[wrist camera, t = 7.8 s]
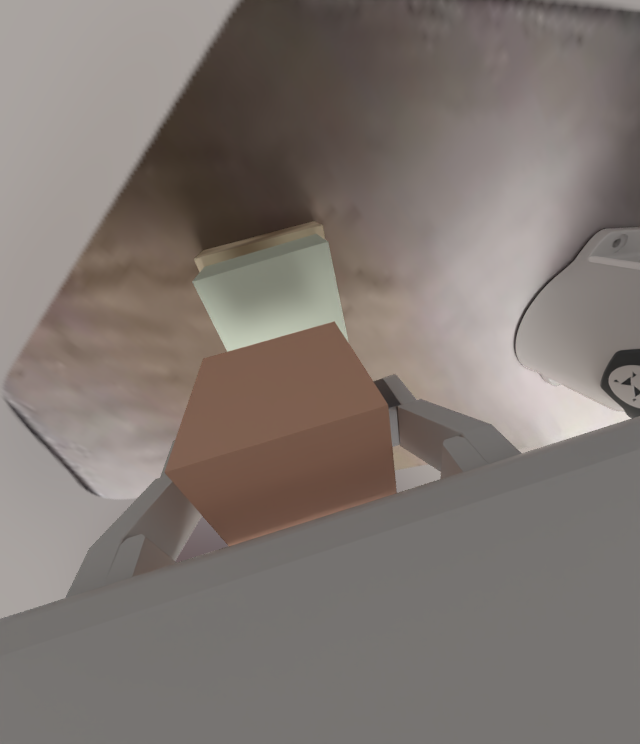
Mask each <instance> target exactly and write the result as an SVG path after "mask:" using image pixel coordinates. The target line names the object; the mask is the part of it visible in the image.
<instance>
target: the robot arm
mask: <svg viewBox="0 0 640 744" xmlns="http://www.w3.org/2000/svg"><path fill="white" fill-rule="evenodd" d="M516 354H517V357H518V360H519V361H520V363H521V364H522V365H523V366H524V367H525V368H527V369H529V370H532V371H535V372H537V373H540V374H541V376H542V378H543V379H544V381H545V382H547V383H549V384H551V385H553V386H559V385H563V386H565V387H567V388H569V389H571V390H573V391H575V392H577V393H579V394H581V395H583V396H585V397H587V398H589V399H591V400H593V401H595V402H597V403H599V404H601V405H603V406H605V407H607V408H609V409H612V410H614V411H618V412H623V411H625V412H626V414H627V415H628V416H629V417H631V418H632V419H629V420H626V421H623V422H620V423H617V424H613V425H610V426H607V427H604V428H601V429H598V430H595V431H591V432H588V433H585V434H582V435H579V436H576V437H572V438H569V439H566V440H563V441H560V442H557V443H553V444H550V445H547V446H544V447H541V448H538V449H535V450H531V451H528V452H525V453H521V452H520V451H519V450H517V449H516V448H515V447H514V446H513V445H512V444H511V443H510V442H509V441H508V440H507V439H506V438H505V437H504V436H503V435H502V434H501V433H500V432H499V431H498V430H497V429H496V428H495V427H493V426H492V425H491V424H489V423H486V422H483V421H480V420H478V419H475V418H472V417H469V416H466V415H464V414H461V413H458V412H455V411H453V410H450V409H447V408H444V407H441V406H439V405H436V404H433V403H430V402H428V401H425V400H422V399H420V400H416V398H415V397H414V396H413V395H412V393H411V392H410V391H409V390H408V389H407V387H406V386H405V385H404V384H403V382H402V381H401V380H400V379H399V377H398V376H397V375H395V374H393V375H390V376H387V377H384V378H382V379H379V380H376V381H373V382H374V384H375V385H376V387H377V388H378V390H379V391H380V393H381V394H382V396H383V398H384V399H385V401H386V402H387V404H388V408H389V418H390V429H391V439H392V447H393V446H397V445H400V446H402V447H403V448H405V449H406V450H408V451H409V452H411V453H412V454H414V455H415V456H417V457H419V458H420V459H422V460H423V461H425V462H426V463H428V464H429V465H431V466H433V467H434V468H436V469H437V470H439V471H441V479H440V480H437V481H434V482H430V483H427V484H424V485H421V486H418V487H415V488H412V489H408V490H405V491H402V492H399V493H396V494H393V495H389V496H386V497H383V498H380V499H377V500H374V501H371V502H367V503H364V504H361V505H358V506H355V507H352V508H349V509H345V510H342V511H339V512H336V513H333V514H330V515H327V516H323V517H320V518H317V519H314V520H311V521H308V522H304V523H301V524H298V525H295V526H292V527H289V528H285V529H282V530H279V531H276V532H273V533H270V534H266V535H263V536H260V537H257V538H254V539H251V540H248V541H244V542H241V543H238V544H235V545H232V546H229V547H225V548H222V549H219V550H216V551H213V552H210V553H206V554H203V555H200V556H197V557H194V558H191V559H188V560H185V561H181V562H178V563H177V562H175V560H176V559H177V557H178V556H179V554H180V552H181V551H182V549H183V547H184V545H185V544H186V542H187V540H188V539H189V537H190V535H191V534H192V532H193V530H194V529H195V526H196V525H197V523H198V522H199V520H200V518H201V517H202V515H201V514H200V513H199V511H198V510H197V509H196V508H195V507H194V506H193V505H192V503H191V502H190V501H189V500H188V499H187V498H186V497H185V495H184V494H183V493H182V492H181V491H180V490H179V489H178V487H177V486H176V485H175V484H174V483H173V482H172V480H171V479H170V478H169V477H168V476H167V475H166V474H165V469H166V466H167V463H168V460H169V457H170V454H171V452H172V449H173V446H174V443H175V440H174V441H173V443H172V446H171V449H170V451H169V454H168V457H167V460H166V463H165V465H164V468H163V471H162V474H161V477H160V478H158V479H155V480H154V481H153V482H152V484H151V485H150V486H149V487H148V488H147V489H146V490H145V491H144V492H143V493H142V494H141V495H140V496H139V497H138V498H137V499H136V500H135V501H134V502H133V504H131V506H130V507H129V508H128V509H127V510H126V511H125V512H124V513H123V514H122V515H121V516H120V517H119V518H118V519H117V520H116V521H115V522H114V523H113V524H112V525H111V526H110V527H109V529H108V530H107V531H106V532H105V533H104V534H103V535H102V536H101V537H100V538H99V539H98V540H97V541H96V542H95V543H94V544H93V545H92V546H91V547H90V548H89V550H88V552H87V554H86V556H85V558H84V561H83V563H82V565H81V567H80V569H79V571H78V573H77V575H76V577H75V580H74V581H73V583H72V586H71V587H70V589H69V592H68V594H67V596H66V598H65V599H61V600H58V601H55V602H52V603H49V604H46V605H43V606H39V607H36V608H33V609H30V610H27V611H24V612H20V613H17V614H14V615H11V616H8V617H5V618H2V619H0V744H640V227H630V228H609V229H603V230H601V231H599V232H597V233H596V234H595V235H594V236H593V237H592V238H591V239H590V240H589V242H588V243H587V244H586V245H585V247H584V248H583V249H582V250H581V252H580V253H579V254H578V256H577V257H576V259H575V260H574V261H573V262H572V263H571V264H570V265H569V266H568V267H567V268H565V269H564V270H563V271H562V272H561V273H559V274H558V275H557V276H556V277H555V278H554V279H553V280H552V281H550V282H549V283H548V284H547V285H546V287H545V288H544V289H543V290H542V291H541V292H540V293H539V294H538V296H537V297H536V298H535V300H534V301H533V302H532V304H531V305H530V307H529V308H528V310H527V312H526V313H525V315H524V317H523V319H522V322H521V324H520V326H519V329H518V333H517V337H516Z"/></svg>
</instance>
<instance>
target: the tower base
mask: <svg viewBox="0 0 640 744" xmlns="http://www.w3.org/2000/svg"><path fill="white" fill-rule="evenodd" d="M313 234H317V235H319V236H320V237H322V238H323V239H325V235H324V230H323V225H322V224H319V223H317V222H315V221H313V222H309V223H305V224H301V225H297V226H294V227H290V228H286V229H282V230H278V231H275V232H271V233H267V234H263V235H259V236H256V237H252V238H248V239H244V240H241V241H237V242H233V243H229V244H225V245H222V246H218V247H214V248H210V249H206V250H203V251H202V252H201V253H200V254H199V255H198V256H196V257H195V258H194V261H195V263H196V265H197V267H198V270H199V272H201V270H202V269H203V268H204V267H206V266H209V265H212V264H216V263H219V262H222V261H226V260H229V259H233V258H236V257H239V256H243V255H246V254H249V253H253V252H256V251H259V250H263V249H266V248H270V247H273V246H276V245H280V244H283V243H286V242H290V241H293V240H297V239H300V238H303V237H307V236H310V235H313Z"/></svg>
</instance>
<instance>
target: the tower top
mask: <svg viewBox="0 0 640 744" xmlns="http://www.w3.org/2000/svg"><path fill="white" fill-rule="evenodd" d="M193 284H194V286H195V288H196V290H197V292H198V294H199V296H200V298H201V300H202V302H203V304H204V306H205V308H206V310H207V312H208V314H209V316H210V318H211V320H212V322H213V324H214V326H215V328H216V330H217V332H218V334H219V336H220V338H221V340H222V342H223V344H224V346H225V348H226V350H227V352H228V351H232V350H235V349H239V348H242V347H246V346H249V345H253V344H257V343H260V342H264V341H267V340H271V339H274V338H278V337H281V336H285V335H288V334H292V333H295V332H299V331H302V330H306V329H309V328H313V327H316V326H320V325H323V324H327V323H330V322H334V321H335V323H336V324H337V326H338V327H339V329H340V331H341V332H342V334H343V335H344V337H345V338H346V340H347V341H348V337H347V332H346V327H345V322H344V318H343V313H342V308H341V303H340V298H339V293H338V288H337V283H336V278H335V273H334V268H333V263H332V258H331V254H330V249H329V244H328V241H327V240H325V239H323V238H322V237H320V236H319V235H317V234H313V235H310V236H307V237H303V238H300V239H297V240H293V241H290V242H286V243H283V244H280V245H276V246H273V247H270V248H266V249H263V250H259V251H256V252H253V253H249V254H246V255H243V256H239V257H236V258H233V259H229V260H226V261H222V262H219V263H216V264H212V265H209V266H206V267H204V268H203V269H202V270H201V272H200V273H199V274H198V275H197V277H196V278H195V279H194V280H193ZM348 343H349V342H348Z"/></svg>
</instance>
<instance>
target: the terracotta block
mask: <svg viewBox="0 0 640 744" xmlns="http://www.w3.org/2000/svg"><path fill="white" fill-rule="evenodd" d="M165 474H166V475H167V476H168V477H169V478H170V479H171V480H172V482H173V483H174V484H175V485H176V486H177V487H178V489H179V490H180V491H181V492H182V493H183V494H184V495H185V497H186V498H187V499H188V500H189V501H190V502H191V503H192V505H193V506H194V507H195V508H196V509H197V510H198V511H199V513H200V514H201V515H202V516H203V517H204V518H205V519H206V520H207V522H208V523H209V524H210V525H211V526H212V527H213V528H214V530H215V531H216V532H217V533H218V534H219V535H220V537H221V538H222V539H223V540H224V541H225V542H226V544H227V545H228V546H232V545H235V544H238V543H241V542H244V541H248V540H251V539H254V538H257V537H260V536H263V535H266V534H270V533H273V532H276V531H279V530H282V529H285V528H289V527H292V526H295V525H298V524H301V523H304V522H308V521H311V520H314V519H317V518H320V517H323V516H327V515H330V514H333V513H336V512H339V511H342V510H345V509H349V508H352V507H355V506H358V505H361V504H364V503H367V502H371V501H374V500H377V499H380V498H383V497H386V496H389V495H393V494H396V493H397V492H396V481H395V471H394V460H393V450H392V439H391V429H390V418H389V408H388V404H387V402H386V401H385V399H384V398H383V396H382V394H381V393H380V391H379V390H378V388H377V387H376V385H375V384H374V382H373V380H372V379H371V377H370V376H369V374H368V373H367V371H366V370H365V368H364V366H363V365H362V363H361V362H360V360H359V359H358V357H357V356H356V354H355V352H354V351H353V349H352V348H351V346H350V345H349V343H348V341H347V340H346V338H345V337H344V335H343V334H342V332H341V331H340V329H339V327H338V326H337V324H336V323H335V321H334V322H330V323H327V324H323V325H320V326H316V327H313V328H309V329H306V330H302V331H299V332H295V333H292V334H288V335H285V336H281V337H278V338H274V339H271V340H267V341H264V342H260V343H257V344H253V345H249V346H246V347H242V348H239V349H235V350H232V351H228V352H225V353H221V354H218V355H214V356H211V357H207V358H204V359H203V361H202V363H201V366H200V369H199V372H198V375H197V378H196V381H195V384H194V387H193V390H192V393H191V396H190V399H189V402H188V405H187V408H186V410H185V413H184V416H183V419H182V422H181V425H180V428H179V431H178V434H177V437H176V440H175V443H174V446H173V449H172V452H171V454H170V457H169V460H168V463H167V466H166V469H165Z"/></svg>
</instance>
